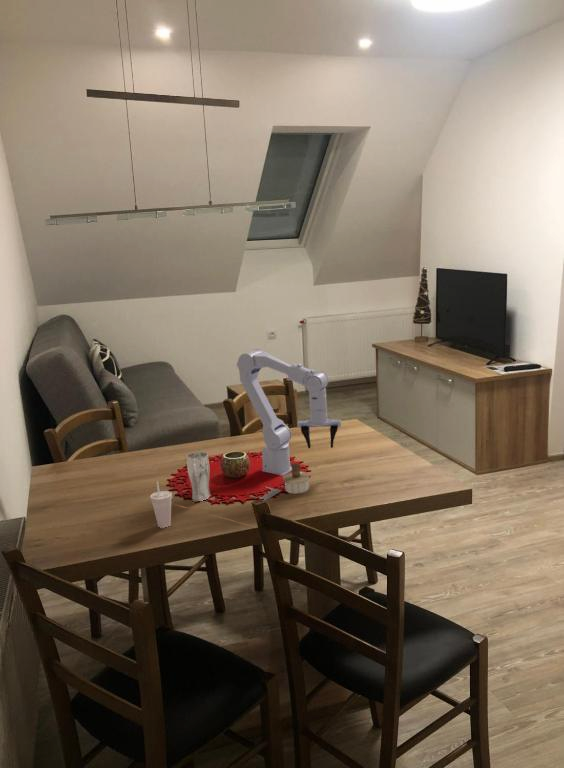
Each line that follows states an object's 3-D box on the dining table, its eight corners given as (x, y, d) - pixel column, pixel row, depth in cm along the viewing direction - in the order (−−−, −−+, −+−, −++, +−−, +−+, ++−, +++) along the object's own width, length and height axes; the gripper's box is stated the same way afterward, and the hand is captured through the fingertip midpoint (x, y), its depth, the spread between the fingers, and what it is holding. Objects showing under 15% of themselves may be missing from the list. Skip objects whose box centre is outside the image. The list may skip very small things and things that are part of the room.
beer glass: (215, 495, 208) (211, 451, 205) (206, 503, 202) (202, 459, 199) (196, 493, 211) (192, 450, 207) (187, 502, 204) (182, 458, 201)
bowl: (281, 491, 207) (280, 480, 207) (294, 483, 213) (293, 472, 212) (299, 496, 203) (299, 484, 202) (313, 487, 209) (312, 476, 208)
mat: (243, 496, 206) (243, 495, 206) (260, 486, 213) (260, 485, 213) (265, 501, 201) (265, 500, 200) (282, 491, 208) (282, 490, 207)
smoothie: (154, 521, 191) (149, 478, 188) (176, 519, 192) (171, 476, 189) (152, 531, 185) (146, 486, 182) (174, 529, 186) (169, 484, 182)
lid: (277, 480, 207) (276, 466, 205) (293, 472, 213) (292, 458, 212) (298, 485, 201) (297, 471, 200) (314, 476, 208) (313, 462, 207)
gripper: (295, 412, 210) (298, 451, 214) (339, 411, 208) (341, 450, 212) (297, 406, 217) (300, 444, 220) (340, 405, 215) (342, 443, 218)
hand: (320, 447), depth 216 cm, fingers open, 7 cm apart
